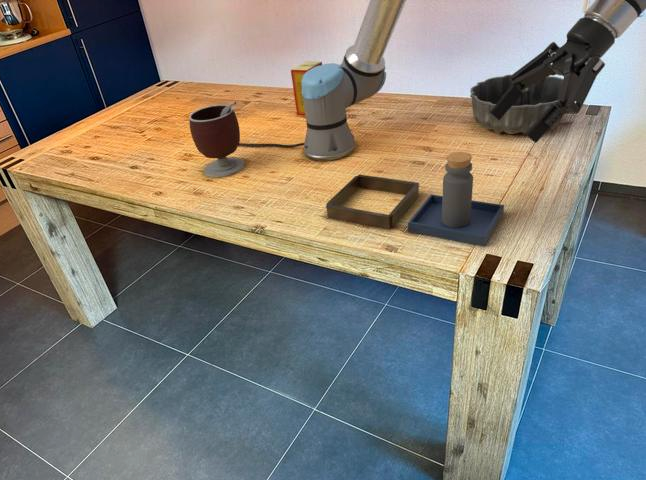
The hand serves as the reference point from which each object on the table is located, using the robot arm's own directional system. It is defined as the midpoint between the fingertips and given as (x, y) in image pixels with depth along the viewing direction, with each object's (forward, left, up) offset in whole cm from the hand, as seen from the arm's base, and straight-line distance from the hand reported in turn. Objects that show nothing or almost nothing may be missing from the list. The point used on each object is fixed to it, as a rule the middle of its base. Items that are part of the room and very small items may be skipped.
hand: (511, 126), depth 99 cm
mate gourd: (-80, 0, -19) cm, 82 cm away
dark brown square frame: (-28, -7, -19) cm, 34 cm away
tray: (-8, -8, -19) cm, 22 cm away
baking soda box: (-79, +48, -19) cm, 94 cm away
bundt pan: (-10, +49, -19) cm, 54 cm away
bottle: (-8, -8, -19) cm, 22 cm away
